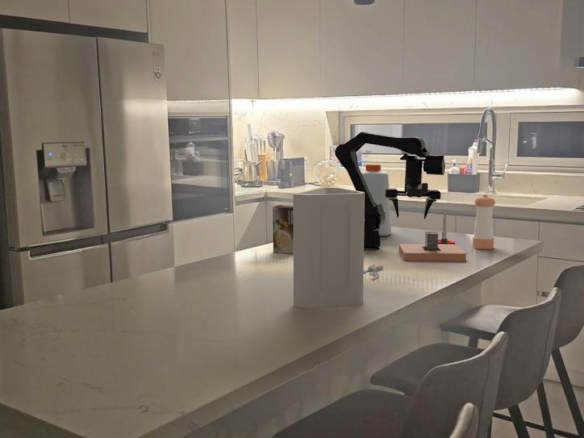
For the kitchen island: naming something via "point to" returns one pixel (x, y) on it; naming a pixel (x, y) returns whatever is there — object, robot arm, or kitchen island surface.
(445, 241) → the tow hook
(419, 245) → the tan flat board
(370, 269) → the pliers
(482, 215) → the pepper shaker
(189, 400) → the kitchen island surface
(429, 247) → the dark gray brick
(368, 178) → the plastic bottle
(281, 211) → the coffee box
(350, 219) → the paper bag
